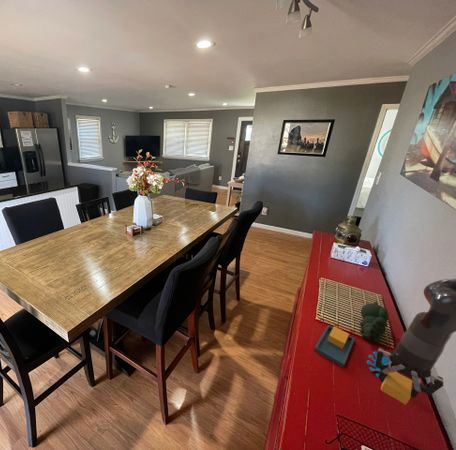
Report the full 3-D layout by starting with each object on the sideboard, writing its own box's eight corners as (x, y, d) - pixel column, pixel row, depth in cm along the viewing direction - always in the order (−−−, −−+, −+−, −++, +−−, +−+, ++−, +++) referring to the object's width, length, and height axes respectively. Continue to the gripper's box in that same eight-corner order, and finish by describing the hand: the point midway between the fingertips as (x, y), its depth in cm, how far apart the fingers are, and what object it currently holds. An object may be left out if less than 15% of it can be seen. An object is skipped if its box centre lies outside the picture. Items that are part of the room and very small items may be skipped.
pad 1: (346, 339, 104) (349, 333, 103) (342, 349, 99) (345, 343, 98) (331, 331, 108) (334, 326, 107) (326, 340, 103) (329, 335, 102)
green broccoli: (381, 356, 99) (382, 318, 116) (401, 323, 91) (399, 288, 107) (353, 343, 105) (358, 309, 121) (369, 311, 96) (372, 280, 113)
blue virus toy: (361, 365, 91) (376, 344, 92) (359, 365, 96) (373, 346, 96) (398, 391, 84) (414, 369, 84) (394, 391, 88) (409, 369, 89)
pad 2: (407, 387, 74) (412, 380, 72) (405, 404, 69) (410, 397, 68) (384, 374, 77) (387, 367, 76) (380, 390, 73) (384, 383, 71)
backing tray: (353, 341, 103) (355, 338, 103) (342, 368, 92) (344, 364, 91) (326, 328, 110) (327, 324, 110) (313, 350, 99) (314, 347, 98)
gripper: (383, 338, 69) (363, 378, 76) (459, 374, 59) (428, 416, 66) (386, 325, 74) (367, 364, 80) (458, 356, 64) (429, 397, 70)
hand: (395, 387), depth 73 cm, fingers closed on pad 2, 5 cm apart
